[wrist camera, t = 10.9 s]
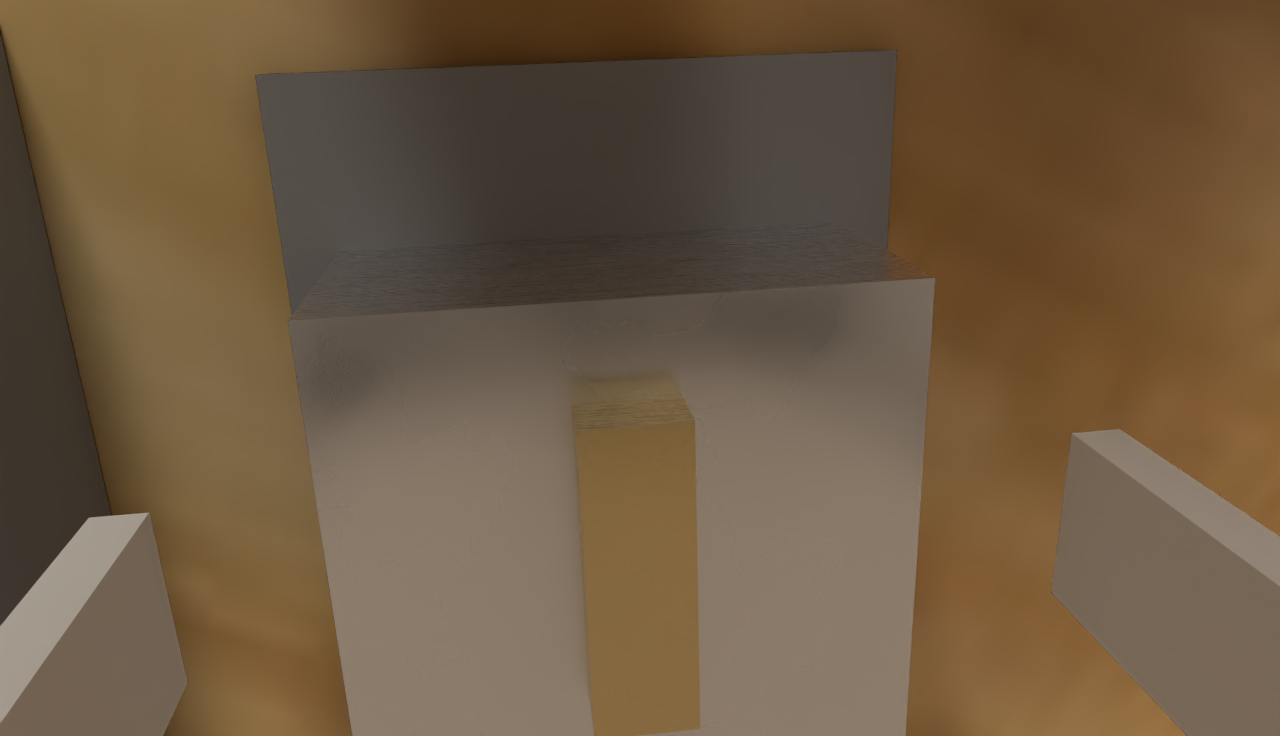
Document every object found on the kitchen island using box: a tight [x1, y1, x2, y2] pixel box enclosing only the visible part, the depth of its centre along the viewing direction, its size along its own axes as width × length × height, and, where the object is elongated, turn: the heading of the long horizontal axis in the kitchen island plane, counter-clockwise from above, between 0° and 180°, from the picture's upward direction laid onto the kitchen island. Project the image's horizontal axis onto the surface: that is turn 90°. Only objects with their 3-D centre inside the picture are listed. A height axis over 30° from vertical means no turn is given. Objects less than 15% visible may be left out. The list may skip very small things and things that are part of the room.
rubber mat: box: [255, 50, 897, 315], centre depth 19 cm, size 14×11×1 cm
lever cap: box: [288, 222, 935, 736], centre depth 17 cm, size 8×9×6 cm
